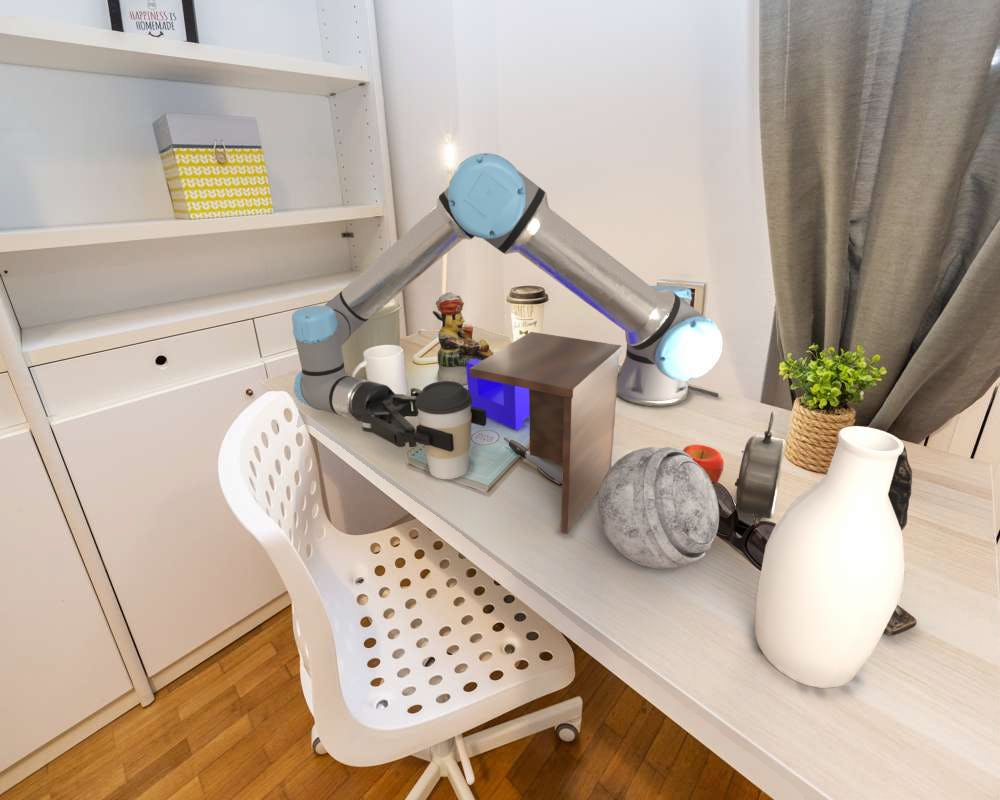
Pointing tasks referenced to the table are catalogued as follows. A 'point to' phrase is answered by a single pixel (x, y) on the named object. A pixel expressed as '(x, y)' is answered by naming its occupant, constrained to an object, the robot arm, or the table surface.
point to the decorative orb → (659, 508)
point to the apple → (707, 460)
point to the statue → (900, 503)
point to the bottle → (834, 566)
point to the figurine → (456, 341)
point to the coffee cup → (447, 426)
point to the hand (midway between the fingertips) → (469, 430)
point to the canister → (372, 337)
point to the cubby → (564, 407)
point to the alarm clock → (760, 474)
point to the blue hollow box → (499, 399)
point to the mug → (385, 367)
